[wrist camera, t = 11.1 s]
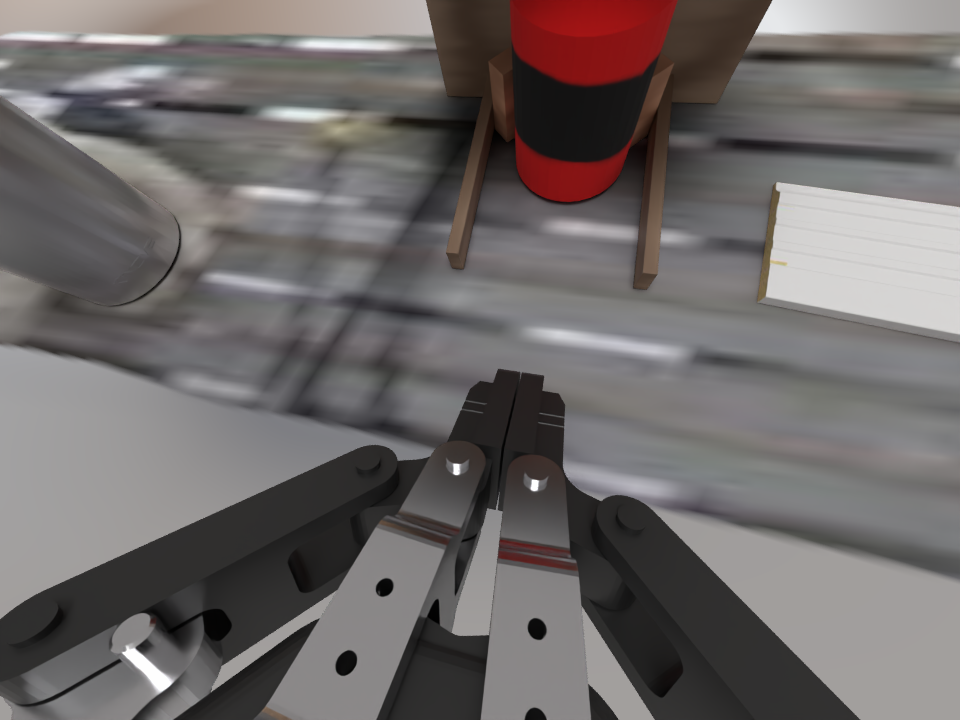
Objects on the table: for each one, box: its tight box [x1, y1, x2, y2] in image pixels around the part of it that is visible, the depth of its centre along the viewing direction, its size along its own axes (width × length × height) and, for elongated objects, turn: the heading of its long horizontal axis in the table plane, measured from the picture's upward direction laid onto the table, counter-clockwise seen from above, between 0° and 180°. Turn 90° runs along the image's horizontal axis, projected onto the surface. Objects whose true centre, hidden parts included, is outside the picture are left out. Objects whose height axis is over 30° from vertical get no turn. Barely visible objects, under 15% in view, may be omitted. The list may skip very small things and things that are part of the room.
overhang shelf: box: [426, 0, 772, 290], centre depth 17 cm, size 20×17×19 cm
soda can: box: [510, 0, 678, 202], centre depth 20 cm, size 8×8×12 cm
